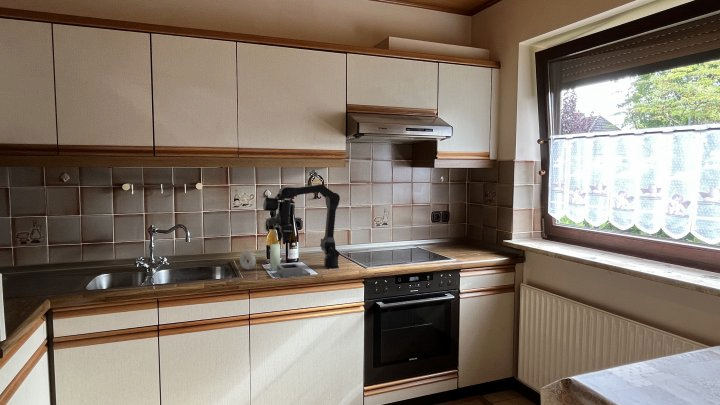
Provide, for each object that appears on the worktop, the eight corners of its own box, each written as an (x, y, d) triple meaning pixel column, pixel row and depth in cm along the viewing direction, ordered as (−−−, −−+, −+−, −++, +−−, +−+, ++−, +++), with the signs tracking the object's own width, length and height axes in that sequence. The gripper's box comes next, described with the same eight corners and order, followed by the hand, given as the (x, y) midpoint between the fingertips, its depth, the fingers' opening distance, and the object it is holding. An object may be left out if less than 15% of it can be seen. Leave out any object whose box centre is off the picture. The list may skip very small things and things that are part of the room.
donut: (238, 269, 231) (238, 250, 230) (243, 267, 234) (243, 248, 233) (252, 271, 226) (252, 252, 225) (257, 270, 228) (257, 251, 228)
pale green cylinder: (278, 268, 234) (278, 243, 233) (281, 270, 230) (281, 245, 228) (269, 269, 232) (269, 244, 231) (271, 271, 227) (271, 245, 226)
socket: (303, 270, 231) (303, 262, 231) (310, 275, 221) (310, 267, 221) (276, 272, 225) (276, 264, 225) (282, 277, 215) (282, 269, 215)
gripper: (264, 209, 231) (261, 239, 231) (272, 213, 214) (269, 245, 214) (285, 210, 235) (282, 239, 236) (295, 214, 218) (292, 246, 219)
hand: (281, 242), depth 226 cm, fingers open, 9 cm apart
